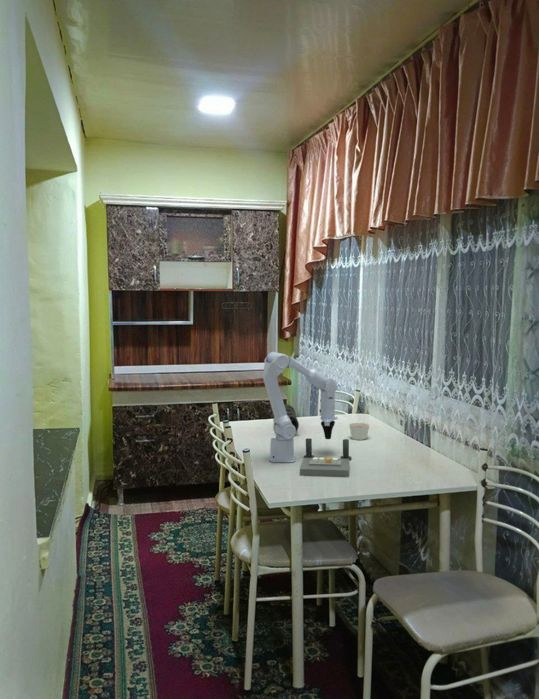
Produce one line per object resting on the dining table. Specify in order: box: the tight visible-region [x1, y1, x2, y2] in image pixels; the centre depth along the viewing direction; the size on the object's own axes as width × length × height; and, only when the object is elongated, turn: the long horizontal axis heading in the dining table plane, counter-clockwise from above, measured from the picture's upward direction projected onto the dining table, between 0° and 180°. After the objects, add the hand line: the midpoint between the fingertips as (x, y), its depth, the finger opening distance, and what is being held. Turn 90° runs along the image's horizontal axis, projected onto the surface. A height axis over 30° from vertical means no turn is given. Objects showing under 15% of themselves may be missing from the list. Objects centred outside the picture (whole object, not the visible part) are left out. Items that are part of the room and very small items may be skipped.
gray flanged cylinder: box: [303, 438, 315, 458], centre depth 237 cm, size 4×4×8 cm
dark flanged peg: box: [339, 438, 352, 462], centre depth 234 cm, size 4×4×8 cm
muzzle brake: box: [284, 403, 300, 432], centre depth 285 cm, size 10×28×10 cm, turn 2°
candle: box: [348, 422, 370, 441], centre depth 266 cm, size 9×9×6 cm
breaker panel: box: [299, 456, 350, 478], centre depth 221 cm, size 18×14×5 cm
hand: (328, 438), depth 242 cm, fingers closed
